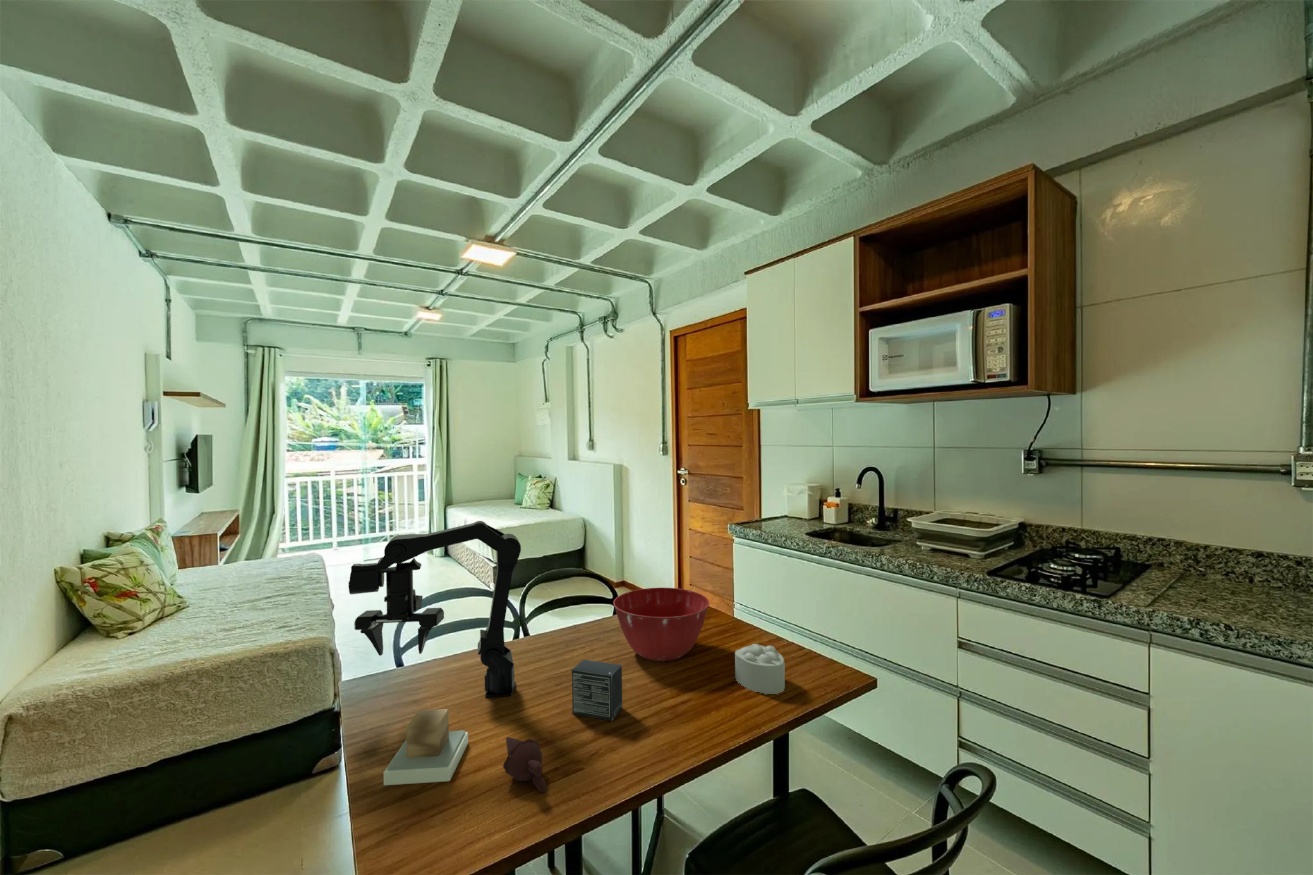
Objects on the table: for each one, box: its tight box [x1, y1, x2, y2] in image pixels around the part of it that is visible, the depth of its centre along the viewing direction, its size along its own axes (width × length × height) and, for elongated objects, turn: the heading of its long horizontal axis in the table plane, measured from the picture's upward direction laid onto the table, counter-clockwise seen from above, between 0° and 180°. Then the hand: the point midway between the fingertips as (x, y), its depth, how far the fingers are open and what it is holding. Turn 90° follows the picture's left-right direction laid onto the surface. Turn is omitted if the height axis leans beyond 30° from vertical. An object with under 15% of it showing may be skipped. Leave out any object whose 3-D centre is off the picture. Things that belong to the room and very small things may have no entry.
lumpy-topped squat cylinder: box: [734, 643, 786, 695], centre depth 133 cm, size 10×13×9 cm
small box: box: [571, 659, 623, 722], centre depth 121 cm, size 11×6×10 cm, turn 71°
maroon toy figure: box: [502, 736, 547, 794], centre depth 98 cm, size 7×7×15 cm
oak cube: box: [405, 708, 450, 758], centre depth 102 cm, size 6×6×6 cm
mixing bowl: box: [612, 587, 710, 662], centre depth 153 cm, size 28×28×16 cm
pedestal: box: [383, 729, 469, 786], centre depth 102 cm, size 12×12×3 cm
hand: (401, 654), depth 123 cm, fingers open, 9 cm apart
